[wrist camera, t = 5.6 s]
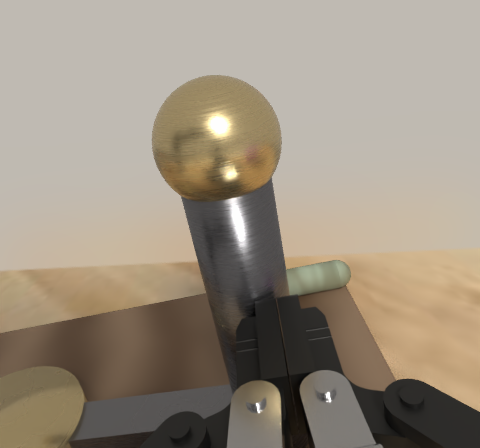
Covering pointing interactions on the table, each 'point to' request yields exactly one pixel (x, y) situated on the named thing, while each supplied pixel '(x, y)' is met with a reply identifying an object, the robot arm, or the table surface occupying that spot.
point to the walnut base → (185, 342)
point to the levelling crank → (209, 258)
